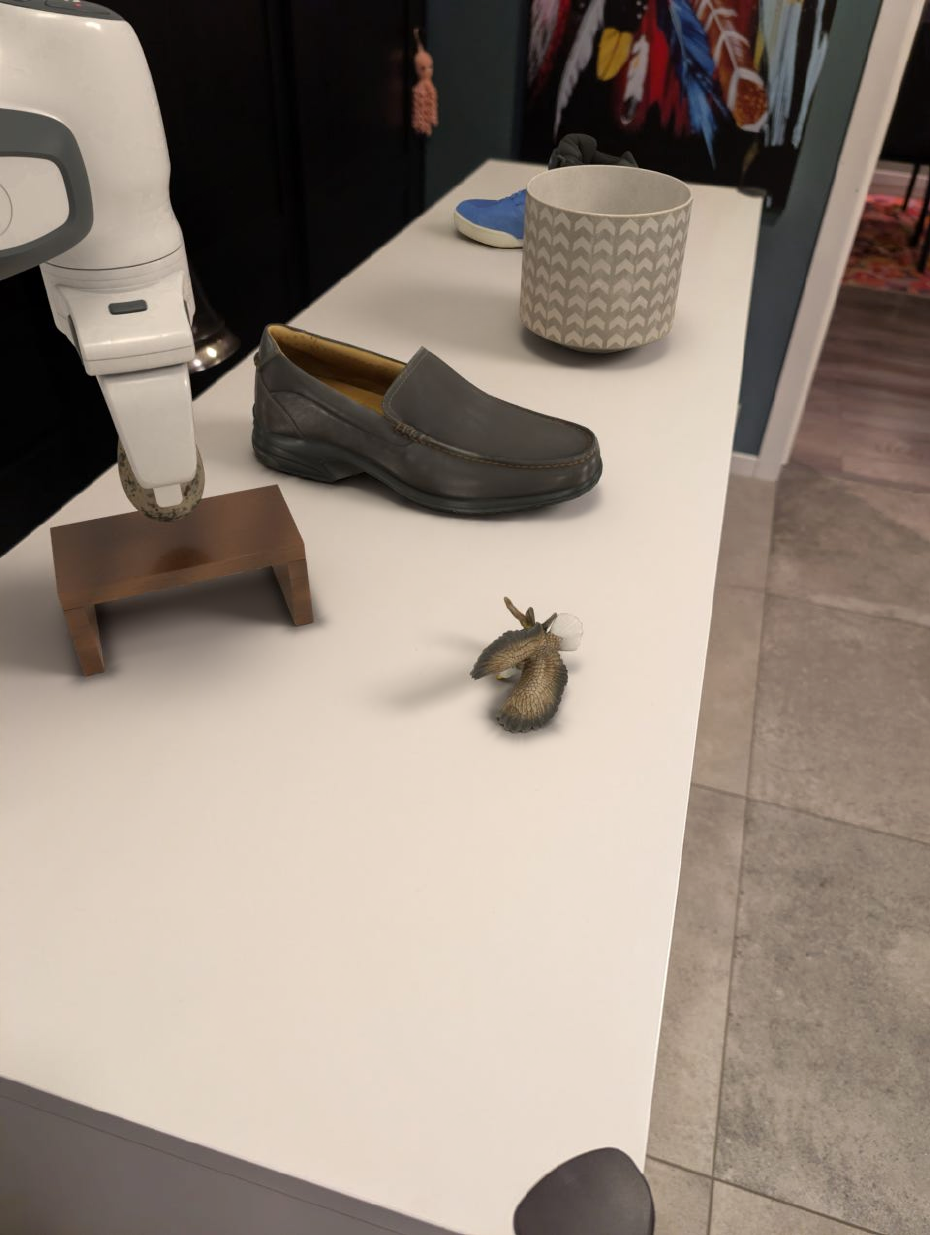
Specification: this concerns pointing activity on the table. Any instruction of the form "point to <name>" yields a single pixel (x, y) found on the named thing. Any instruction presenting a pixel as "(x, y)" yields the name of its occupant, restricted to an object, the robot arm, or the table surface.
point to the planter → (603, 255)
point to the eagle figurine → (531, 666)
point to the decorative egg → (146, 497)
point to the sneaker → (506, 216)
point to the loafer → (410, 428)
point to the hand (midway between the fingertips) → (162, 475)
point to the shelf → (175, 558)
